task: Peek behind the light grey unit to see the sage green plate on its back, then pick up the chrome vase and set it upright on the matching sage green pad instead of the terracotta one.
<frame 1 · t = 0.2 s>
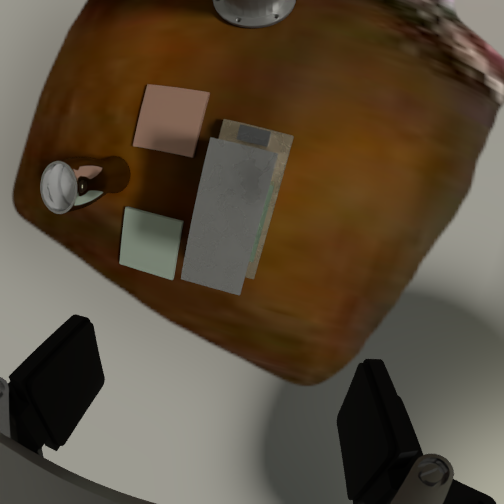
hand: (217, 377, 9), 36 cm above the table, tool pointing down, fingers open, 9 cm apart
chrome vase: (115, 174, 44), on the table
sage pad: (150, 242, 47), on the table
grey unit: (240, 199, 44), on the table
terracotta pad: (170, 119, 41), on the table
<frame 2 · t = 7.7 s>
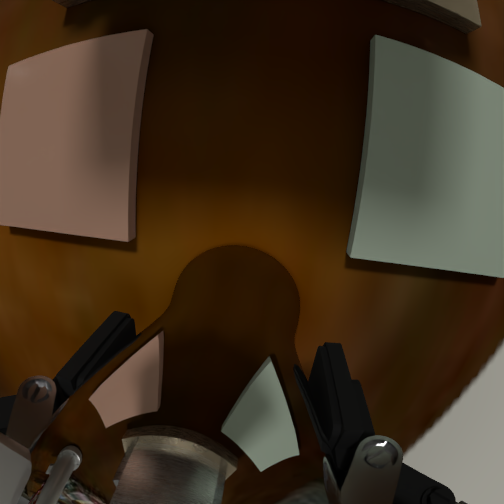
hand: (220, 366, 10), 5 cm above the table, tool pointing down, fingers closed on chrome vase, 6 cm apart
chrome vase: (237, 302, 15), on the table, touching gripper
sage pad: (455, 165, 11), on the table
terracotta pad: (59, 136, 12), on the table
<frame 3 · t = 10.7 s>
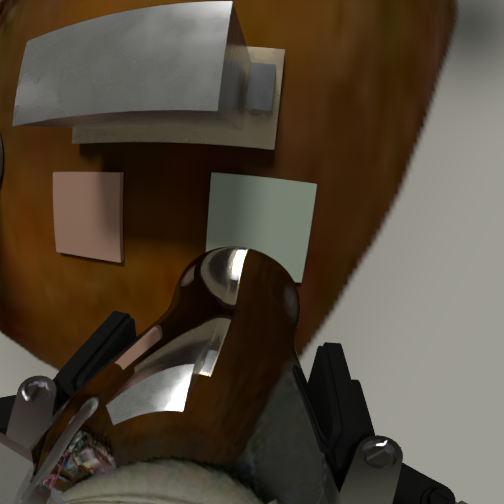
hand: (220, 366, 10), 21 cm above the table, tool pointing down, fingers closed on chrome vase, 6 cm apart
chrome vase: (237, 303, 15), point 16 cm above the table, touching gripper
sage pad: (258, 227, 30), on the table
grey unit: (169, 95, 26), on the table
terracotta pad: (87, 214, 31), on the table
when the fingers open (6 cm above the table, at t = 13.8 s): chrome vase stays where it is, resting on sage pad.
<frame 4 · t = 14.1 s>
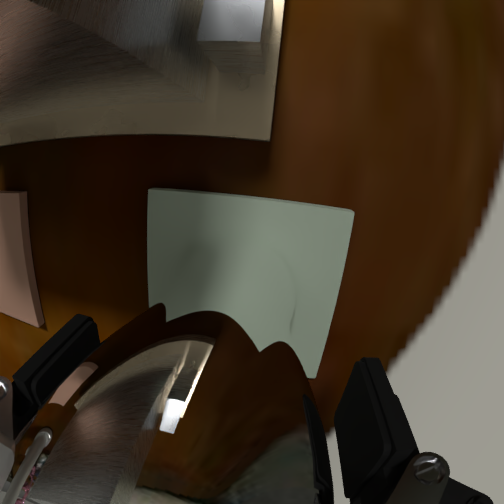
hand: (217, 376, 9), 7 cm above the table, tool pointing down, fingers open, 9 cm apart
chrome vase: (236, 292, 15), point 1 cm above the table, touching sage pad
sage pad: (241, 289, 16), on the table
grey unit: (87, 57, 13), on the table
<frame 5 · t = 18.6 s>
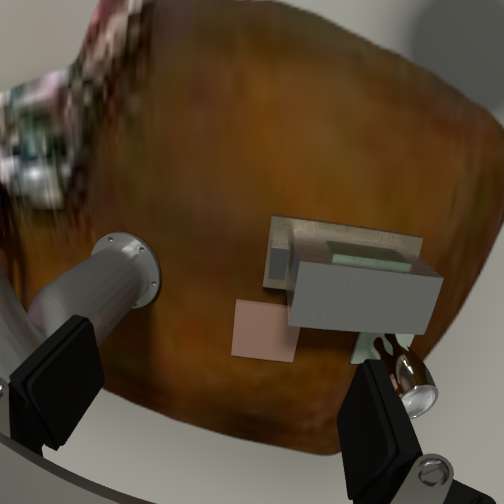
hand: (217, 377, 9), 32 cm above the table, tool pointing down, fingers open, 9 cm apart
chrome vase: (385, 339, 44), point 1 cm above the table, touching sage pad
sage pad: (385, 338, 45), on the table
grey unit: (344, 258, 41), on the table
terracotta pad: (266, 331, 46), on the table
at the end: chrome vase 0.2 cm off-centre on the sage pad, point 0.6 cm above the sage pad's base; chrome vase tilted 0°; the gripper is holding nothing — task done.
